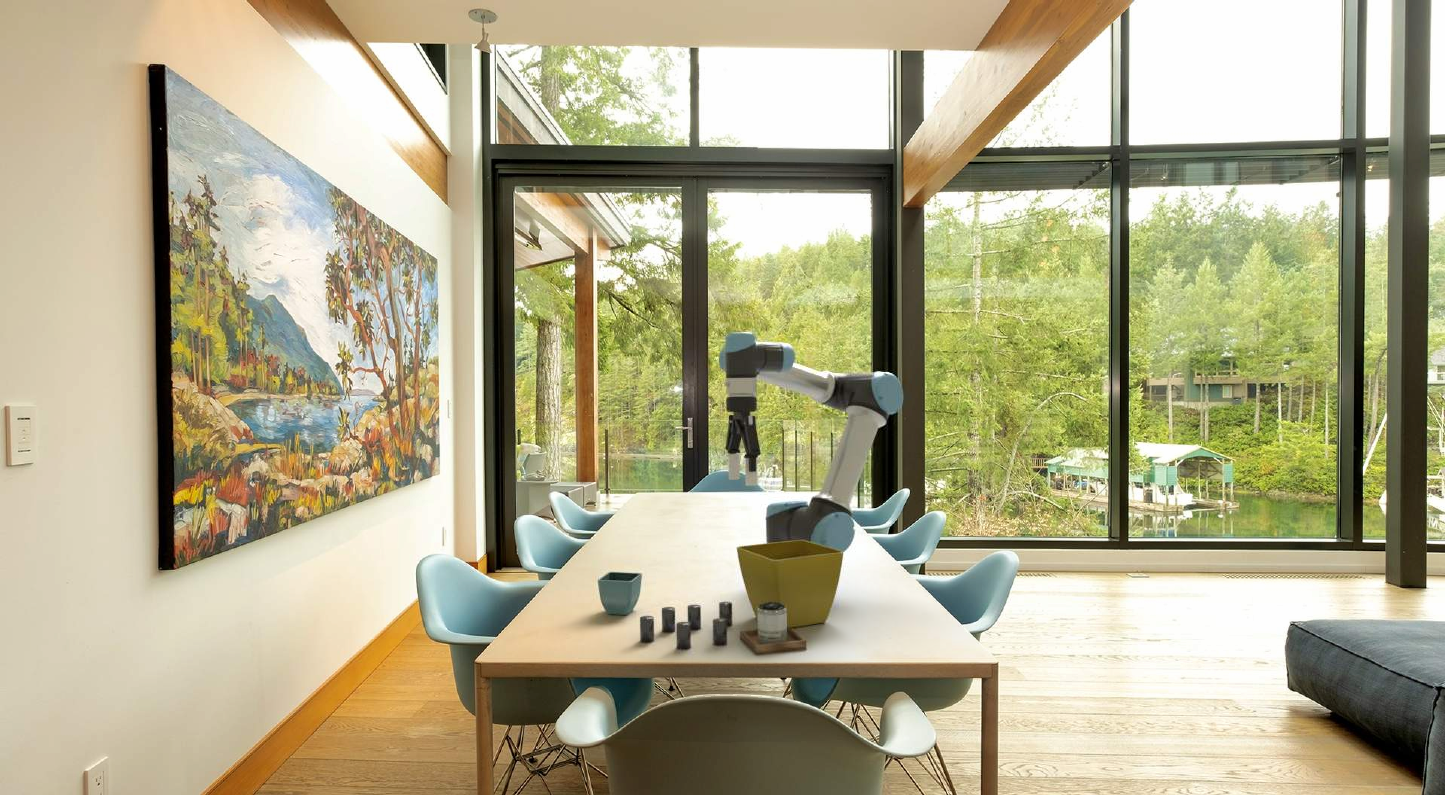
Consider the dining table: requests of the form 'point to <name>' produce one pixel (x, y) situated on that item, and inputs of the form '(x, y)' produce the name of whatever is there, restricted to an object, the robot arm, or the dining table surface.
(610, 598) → the flower pot
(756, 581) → the flower pot
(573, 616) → the dining table surface
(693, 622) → the spacers
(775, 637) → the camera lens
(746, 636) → the tray
